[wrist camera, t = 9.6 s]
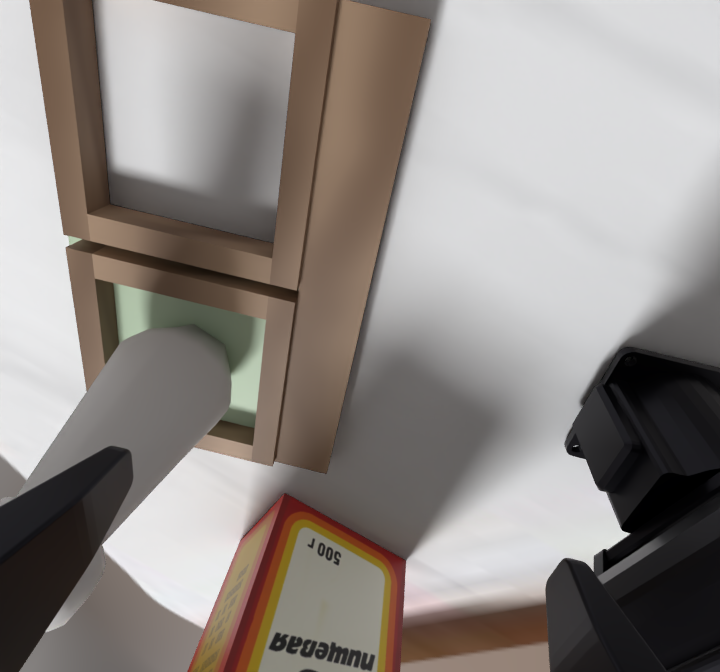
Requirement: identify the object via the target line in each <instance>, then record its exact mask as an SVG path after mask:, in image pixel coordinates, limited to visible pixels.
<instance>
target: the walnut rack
mask: <svg viewBox="0 0 720 672" xmlns="http://www.w3.org/2000/svg"><path fill="white" fill-rule="evenodd" d="M155 1H159V2H163V3H168V4H172V5H176V6H181V7H185V8H189V9H193V10H198V11H202V12H206V13H211V14H215V15H219V16H224V17H228V18H232V19H236V20H241V21H245V22H249V23H254V24H258V25H262V26H267V27H271V28H275V29H280V30H284V31H288V32H292V33H295V43H294V53H293V62H292V72H291V82H290V92H289V101H288V111H287V121H286V130H285V140H284V150H283V159H282V169H281V179H280V188H279V198H278V208H277V217H276V227H275V237H274V243H270V242H265V241H261V240H257V239H253V238H249V237H244V236H240V235H236V234H232V233H228V232H224V231H219V230H215V229H211V228H207V227H203V226H199V225H194V224H190V223H186V222H182V221H178V220H173V219H169V218H165V217H161V216H157V215H153V214H148V213H144V212H140V211H136V210H132V209H128V208H123V207H119V206H115V205H111V204H110V198H109V187H108V176H107V164H106V153H105V142H104V131H103V119H102V108H101V97H100V86H99V74H98V63H97V52H96V41H95V29H94V18H93V7H92V0H29V2H30V9H31V16H32V23H33V30H34V36H35V43H36V50H37V57H38V64H39V70H40V77H41V84H42V91H43V97H44V104H45V111H46V118H47V125H48V131H49V138H50V145H51V152H52V159H53V165H54V172H55V179H56V186H57V193H58V199H59V206H60V213H61V220H62V227H63V233H64V235H67V236H72V237H76V238H80V239H82V240H80V241H78V242H76V243H74V244H72V245H70V246H68V247H66V254H67V261H68V267H69V274H70V281H71V288H72V295H73V301H74V308H75V315H76V322H77V328H78V335H79V342H80V349H81V356H82V362H83V369H84V376H85V383H86V390H87V391H88V390H89V388H90V387H91V385H92V384H93V382H94V381H95V379H96V378H97V376H98V375H99V373H100V372H101V370H102V369H103V368H104V366H105V365H106V363H107V362H108V360H109V359H110V357H111V356H112V354H113V353H114V351H115V350H116V348H117V347H118V345H119V339H118V328H117V318H116V307H115V297H114V286H113V283H116V284H120V285H124V286H128V287H132V288H136V289H141V290H145V291H149V292H153V293H157V294H161V295H165V296H170V297H174V298H178V299H182V300H186V301H190V302H194V303H198V304H203V305H207V306H211V307H215V308H219V309H223V310H227V311H232V312H236V313H240V314H244V315H248V316H252V317H256V318H260V319H265V320H266V324H265V334H264V343H263V353H262V363H261V373H260V382H259V392H258V402H257V411H256V421H255V428H252V427H248V426H244V425H240V424H235V423H231V422H227V421H223V420H219V421H218V423H217V424H216V425H215V426H214V427H213V428H212V429H211V430H210V431H209V432H208V433H207V434H206V435H205V436H204V437H203V438H202V439H201V440H200V441H199V442H198V443H197V444H196V445H195V446H194V447H195V448H200V449H204V450H208V451H212V452H216V453H220V454H224V455H228V456H232V457H236V458H240V459H244V460H248V461H252V462H256V463H260V464H264V465H268V466H273V464H274V461H276V462H280V463H284V464H288V465H292V466H296V467H300V468H304V469H308V470H312V471H316V472H320V473H324V474H327V470H328V466H329V462H330V458H331V454H332V450H333V445H334V441H335V437H336V432H337V428H338V423H339V419H340V415H341V410H342V406H343V402H344V397H345V393H346V389H347V384H348V380H349V376H350V371H351V367H352V363H353V358H354V354H355V350H356V345H357V341H358V337H359V332H360V328H361V324H362V319H363V315H364V311H365V306H366V302H367V298H368V293H369V289H370V285H371V280H372V276H373V272H374V267H375V263H376V259H377V254H378V250H379V246H380V241H381V237H382V233H383V228H384V224H385V220H386V215H387V211H388V207H389V202H390V198H391V194H392V189H393V185H394V181H395V176H396V172H397V168H398V163H399V159H400V155H401V150H402V146H403V142H404V137H405V133H406V129H407V124H408V120H409V116H410V111H411V107H412V103H413V98H414V94H415V89H416V85H417V81H418V76H419V72H420V68H421V63H422V59H423V55H424V50H425V46H426V42H427V37H428V33H429V29H430V24H431V19H427V18H422V17H418V16H414V15H409V14H405V13H401V12H396V11H392V10H388V9H383V8H379V7H375V6H370V5H366V4H362V3H357V2H353V1H349V0H155ZM298 288H299V290H298Z"/></svg>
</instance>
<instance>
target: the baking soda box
mask: <svg viewBox="0 0 720 672" xmlns="http://www.w3.org/2000/svg"><path fill="white" fill-rule="evenodd" d="M405 569H406V560H404V559H402V558H400V557H399V556H397V555H395V554H393V553H391V552H390V551H388V550H386V549H384V548H383V547H381V546H379V545H377V544H375V543H374V542H372V541H370V540H368V539H366V538H365V537H363V536H361V535H359V534H357V533H356V532H354V531H352V530H350V529H349V528H347V527H345V526H343V525H341V524H340V523H338V522H336V521H334V520H332V519H331V518H329V517H327V516H325V515H323V514H322V513H320V512H318V511H316V510H315V509H313V508H311V507H309V506H307V505H306V504H304V503H302V502H300V501H298V500H297V499H295V498H293V497H291V496H289V495H288V494H286V493H284V494H283V495H282V496H281V498H280V499H279V500H278V501H277V502H276V503H275V504H274V505H273V506H272V507H271V508H270V509H269V510H268V512H267V513H266V514H265V515H264V516H263V517H262V518H261V519H260V520H259V521H258V522H257V523H256V524H255V526H254V527H253V528H252V529H251V530H250V531H249V532H248V533H247V534H246V535H245V536H244V537H243V538H242V540H241V541H240V543H239V545H238V548H237V550H236V553H235V555H234V558H233V560H232V562H231V565H230V567H229V570H228V572H227V575H226V577H225V580H224V582H223V585H222V587H221V590H220V592H219V595H218V597H217V600H216V602H215V605H214V607H213V609H212V612H211V614H210V617H209V619H208V622H207V624H206V627H205V629H204V632H203V634H202V637H201V639H200V642H199V644H198V647H197V649H196V651H195V654H194V657H193V659H192V662H191V664H190V666H189V669H188V671H187V672H400V663H401V644H402V625H403V607H404V588H405Z"/></svg>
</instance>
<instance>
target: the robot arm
mask: <svg viewBox="0 0 720 672" xmlns="http://www.w3.org/2000/svg"><path fill="white" fill-rule="evenodd" d="M629 357H634V358H633V359H632V360H630V361H625V360H626V359H627V358H629ZM575 445H579V446H577V447H573V446H575ZM565 448H566V451H567V453H568V454H569V455H572V456H575V457H579V458H583V459H586V461H587V463H588V466H589V469H590V471H591V474H592V476H593V479H594V481H595V484H596V486H597V487H598V489H599V490H600V491H604V492H606V493H607V495H608V498H609V500H610V503H611V505H612V508H613V510H614V512H615V515H616V517H617V520H618V522H619V525H620V527H621V529H622V531H624V532H628V533H631V534H630V535H628V536H627V537H625V538H624V539H622V540H621V541H620V542H618V543H617V544H615V545H614V546H612V547H611V548H610V549H608V550H606V549H603V550H602V551H600V552H599V553H598V554H596V555H595V556H594V572H593V571H592V569H591V568H590V567H589V566H588V565H587V564H586V563H584V562H582V561H578V560H574V559H570V558H565V559H563V560H562V561H561V562H560V563H559V565H558V566H557V567H556V569H555V570H554V571H553V573H552V574H551V576H550V577H549V579H548V581H547V584H546V608H547V626H548V644H549V661H550V672H720V368H717V367H712V366H708V365H704V364H700V363H696V362H692V361H687V360H683V359H679V358H675V357H671V356H667V355H662V354H658V353H654V352H650V351H646V350H642V349H637V348H633V347H627V348H624V349H622V350H620V351H619V352H618V353H617V355H616V356H615V358H614V360H613V361H612V363H611V365H610V366H609V368H608V370H607V372H606V373H605V375H604V377H603V378H602V380H601V382H600V383H599V384H598V385H597V386H595V387H594V389H593V390H592V392H591V394H590V395H589V397H588V399H587V400H586V402H585V404H584V406H583V407H582V409H581V411H580V412H579V414H578V416H577V417H576V419H575V421H574V423H573V429H572V431H571V432H570V434H569V436H568V437H567V439H566V441H565ZM133 478H134V474H133V463H132V454H131V452H130V450H128V449H125V448H121V447H117V446H108V447H105V448H104V449H102V450H100V451H98V452H96V453H95V454H93V455H91V456H89V457H87V458H86V459H84V460H82V461H80V462H78V463H77V464H75V465H73V466H71V467H70V468H68V469H66V470H64V471H62V472H61V473H59V474H57V475H55V476H53V477H52V478H50V479H48V480H46V481H44V482H43V483H41V484H39V485H37V486H35V487H34V488H32V489H30V490H28V491H26V492H25V493H23V494H21V495H19V496H18V497H16V498H14V499H12V500H10V501H9V502H7V503H5V504H3V505H1V506H0V672H19V671H20V669H21V668H22V666H23V665H24V663H25V662H26V660H27V659H28V657H29V656H30V654H31V653H32V651H33V650H34V648H35V647H36V645H37V644H38V642H39V641H40V639H41V638H42V636H43V634H44V633H45V631H46V630H47V628H48V627H49V625H50V624H51V622H52V621H53V619H54V618H55V616H56V615H57V613H58V612H59V610H60V609H61V607H62V606H63V604H64V603H65V601H66V600H67V598H68V597H69V595H70V594H71V592H72V591H73V589H74V588H75V586H76V585H77V583H78V581H79V580H80V578H81V577H82V575H83V574H84V572H85V571H86V569H87V568H88V566H89V565H90V563H91V561H92V560H93V558H94V556H95V554H96V553H97V551H98V549H99V547H100V545H101V543H102V542H103V540H104V538H105V536H106V534H107V532H108V530H109V528H110V526H111V524H112V522H113V521H114V519H115V517H116V515H117V513H118V511H119V509H120V507H121V505H122V503H123V501H124V500H125V498H126V496H127V494H128V492H129V490H130V488H131V486H132V483H133Z"/></svg>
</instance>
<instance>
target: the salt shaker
mask: <svg viewBox="0 0 720 672" xmlns="http://www.w3.org/2000/svg"><path fill="white" fill-rule="evenodd" d="M231 388H232V380H231V372H230V367H229V362H228V357H227V352H226V347H225V344H223V343H222V342H220V341H219V340H217V339H216V338H214V337H213V336H211V335H210V334H208V333H207V332H205V331H204V330H202V329H201V328H199V327H198V326H196V325H195V324H191V325H185V326H180V327H167V328H151V329H147V330H145V331H143V332H140V333H138V334H136V335H133V336H131V337H129V338H127V339H125V340H123V341H122V342H120V344H119V345H118V347H117V348H116V350H115V351H114V353H113V354H112V356H111V357H110V359H109V360H108V362H107V363H106V365H105V366H104V368H103V369H102V370H101V372H100V373H99V375H98V376H97V378H96V379H95V381H94V382H93V384H92V385H91V387H90V388H89V390H88V391H87V393H86V394H85V395H84V397H83V398H82V400H81V401H80V403H79V404H78V406H77V407H76V409H75V410H74V412H73V413H72V415H71V416H70V418H69V419H68V421H67V422H66V423H65V425H64V426H63V428H62V429H61V431H60V432H59V434H58V435H57V437H56V438H55V440H54V441H53V443H52V444H51V446H50V447H49V449H48V450H47V451H46V453H45V454H44V456H43V457H42V459H41V460H40V462H39V463H38V465H37V466H36V468H35V469H34V471H33V472H32V474H31V475H30V477H29V478H28V479H27V481H26V482H25V484H24V486H23V487H22V488H21V490H20V491H19V493H18V494H17V496H16V497H18V496H19V495H21V494H23V493H25V492H26V491H28V490H30V489H32V488H34V487H35V486H37V485H39V484H41V483H43V482H44V481H46V480H48V479H50V478H52V477H53V476H55V475H57V474H59V473H61V472H62V471H64V470H66V469H68V468H70V467H71V466H73V465H75V464H77V463H78V462H80V461H82V460H84V459H86V458H87V457H89V456H91V455H93V454H95V453H96V452H98V451H100V450H102V449H104V448H105V447H108V446H117V447H121V448H125V449H128V450H130V452H131V454H132V463H133V474H134V478H133V483H132V486H131V488H130V490H129V492H128V494H127V496H126V498H125V500H124V501H123V503H122V505H121V507H120V509H119V511H118V513H117V515H116V517H115V519H114V521H113V522H112V524H111V526H110V528H109V530H108V532H107V534H106V536H105V538H104V540H103V542H102V543H101V545H100V547H99V549H98V551H97V553H96V554H95V556H94V558H93V560H92V561H91V563H90V565H89V566H88V568H87V569H86V571H85V572H84V574H83V575H82V577H81V578H80V580H79V581H78V583H77V585H76V586H75V588H74V589H73V591H72V592H71V594H70V595H69V597H68V598H67V600H66V601H65V603H64V604H63V606H62V607H61V609H60V610H59V612H58V613H57V615H56V616H55V618H54V619H53V621H52V622H51V624H50V625H49V627H48V628H47V630H46V631H45V632H48V631H51V630H53V629H56V628H58V627H61V626H63V625H65V623H66V622H67V621H68V620H69V619H70V618H71V617H72V615H73V614H74V613H75V612H76V611H77V610H78V609H79V608H80V606H81V605H82V604H83V603H84V602H85V600H86V599H87V598H88V597H89V596H90V595H91V594H92V592H93V590H94V588H95V587H96V585H97V583H98V582H99V580H100V578H101V577H102V575H103V572H104V569H105V565H106V561H105V555H104V549H103V546H102V544H103V543H104V542H105V541H106V540H107V539H108V538H109V537H110V536H111V535H112V534H113V532H114V531H115V530H116V529H117V528H118V527H119V526H120V525H121V524H122V523H123V522H124V521H125V520H126V519H127V517H128V516H129V515H130V514H131V513H132V512H133V511H134V510H135V509H136V508H137V507H138V506H139V505H140V504H141V502H142V501H143V500H144V499H145V498H146V497H147V496H148V495H149V494H150V493H151V492H152V491H153V490H154V489H155V487H156V486H157V485H158V484H159V483H160V482H161V481H162V480H163V479H164V478H165V477H166V476H167V475H168V474H169V472H170V471H171V470H172V469H173V468H174V467H175V466H176V465H177V464H178V463H179V462H180V461H181V460H182V459H183V458H184V457H185V456H186V455H187V454H188V453H189V452H190V451H191V449H192V448H193V447H194V446H195V445H196V444H197V443H198V442H199V441H200V440H201V439H202V438H203V437H204V436H205V435H206V434H207V433H208V432H209V431H210V430H211V429H212V428H213V427H214V426H215V425H216V424H217V423H218V421H219V420H220V419H221V418H222V416H223V415H224V414H225V413H226V412H227V410H228V408H229V406H230V403H231ZM16 497H15V498H16ZM12 499H14V497H6V498H3V499H0V506H1V505H3V504H5V503H7V502H9V501H10V500H12Z"/></svg>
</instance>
